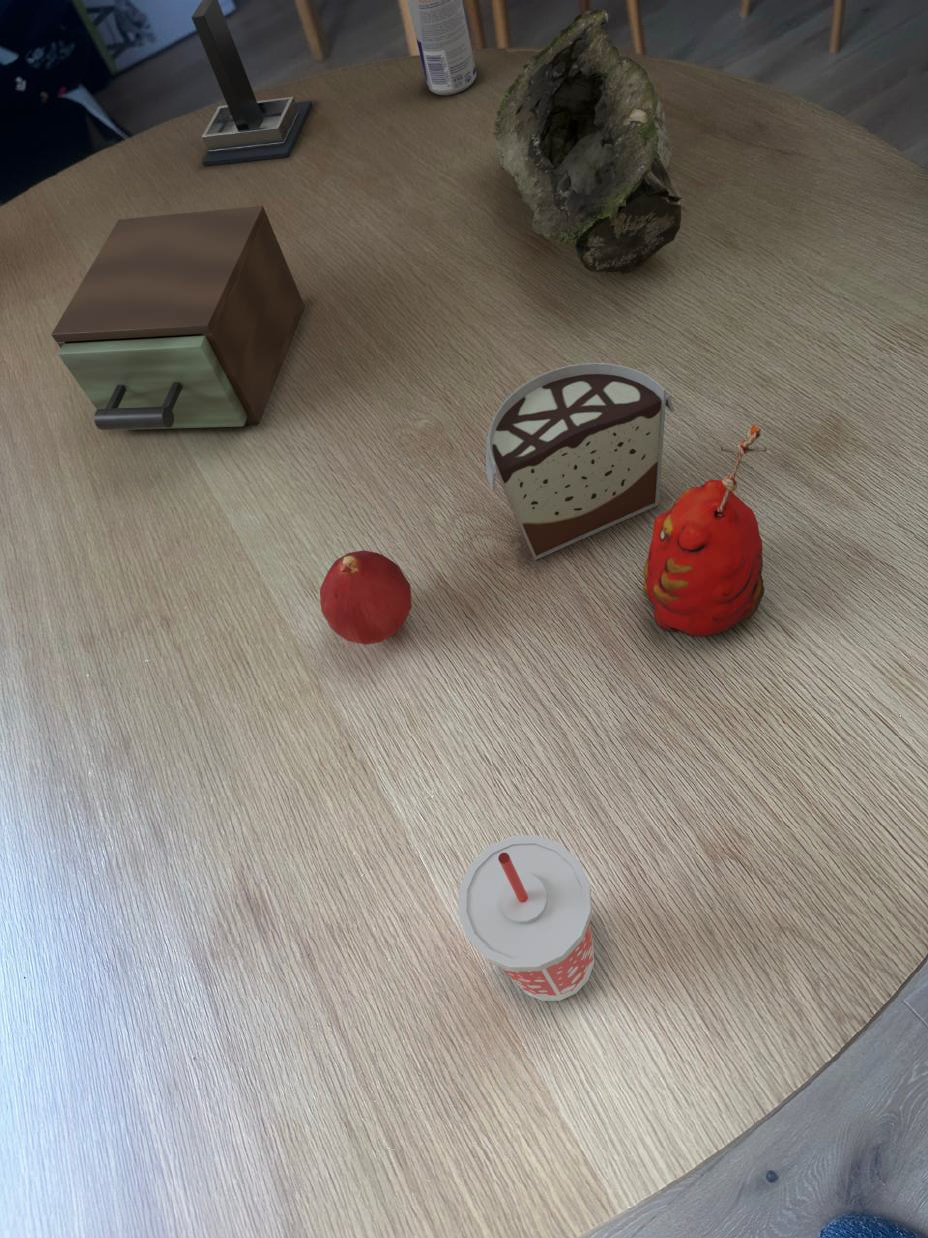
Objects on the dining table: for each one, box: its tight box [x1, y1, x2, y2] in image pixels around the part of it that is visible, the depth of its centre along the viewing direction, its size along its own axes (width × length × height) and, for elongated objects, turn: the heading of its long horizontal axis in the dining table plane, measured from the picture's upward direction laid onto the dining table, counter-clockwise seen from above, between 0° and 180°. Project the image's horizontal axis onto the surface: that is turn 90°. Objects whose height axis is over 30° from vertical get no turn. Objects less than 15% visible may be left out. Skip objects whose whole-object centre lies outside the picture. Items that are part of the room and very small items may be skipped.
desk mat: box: [202, 100, 313, 167], centre depth 108 cm, size 10×10×1 cm
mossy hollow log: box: [493, 8, 683, 275], centre depth 82 cm, size 28×13×15 cm
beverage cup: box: [457, 834, 595, 1002], centre depth 46 cm, size 6×6×14 cm
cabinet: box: [50, 205, 305, 425], centre depth 82 cm, size 15×14×10 cm
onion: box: [319, 550, 412, 645], centre depth 63 cm, size 6×6×8 cm
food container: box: [485, 362, 675, 561], centre depth 65 cm, size 12×6×10 cm, turn 111°
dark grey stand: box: [191, 0, 300, 154], centre depth 102 cm, size 9×6×13 cm, turn 80°
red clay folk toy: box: [642, 424, 768, 638], centre depth 56 cm, size 8×7×15 cm
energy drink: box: [406, 0, 477, 96], centre depth 101 cm, size 5×5×12 cm
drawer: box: [57, 334, 248, 431], centre depth 80 cm, size 18×12×8 cm
